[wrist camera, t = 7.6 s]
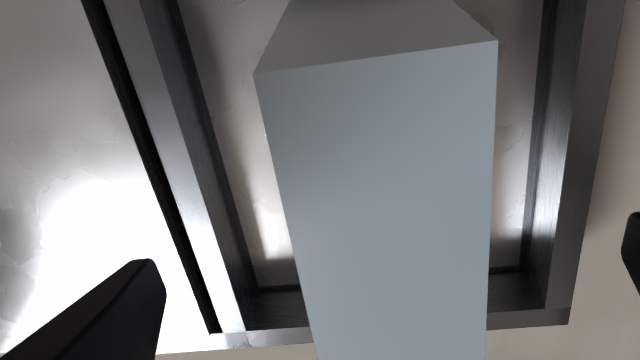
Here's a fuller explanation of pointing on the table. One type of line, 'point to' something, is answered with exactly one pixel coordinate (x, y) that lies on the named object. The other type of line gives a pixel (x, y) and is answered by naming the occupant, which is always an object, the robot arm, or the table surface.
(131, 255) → the grey compartment tray
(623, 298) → the table surface
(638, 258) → the robot arm
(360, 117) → the pale grey rectangular block
